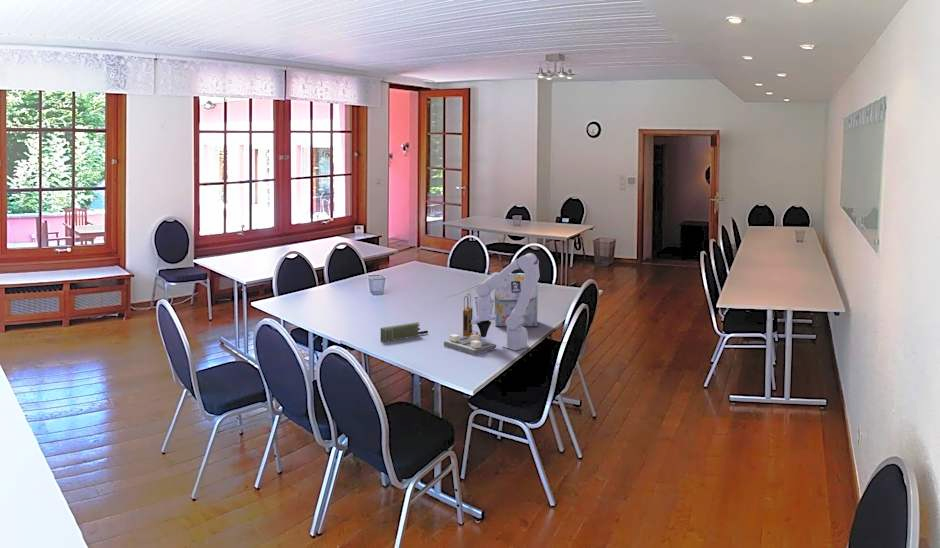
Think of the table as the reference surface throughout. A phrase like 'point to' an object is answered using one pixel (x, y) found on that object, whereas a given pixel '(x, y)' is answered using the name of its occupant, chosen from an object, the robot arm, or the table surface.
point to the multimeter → (467, 318)
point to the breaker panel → (469, 345)
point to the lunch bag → (514, 300)
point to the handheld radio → (400, 331)
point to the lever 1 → (454, 338)
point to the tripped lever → (474, 337)
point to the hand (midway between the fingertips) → (483, 336)
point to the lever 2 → (475, 344)
